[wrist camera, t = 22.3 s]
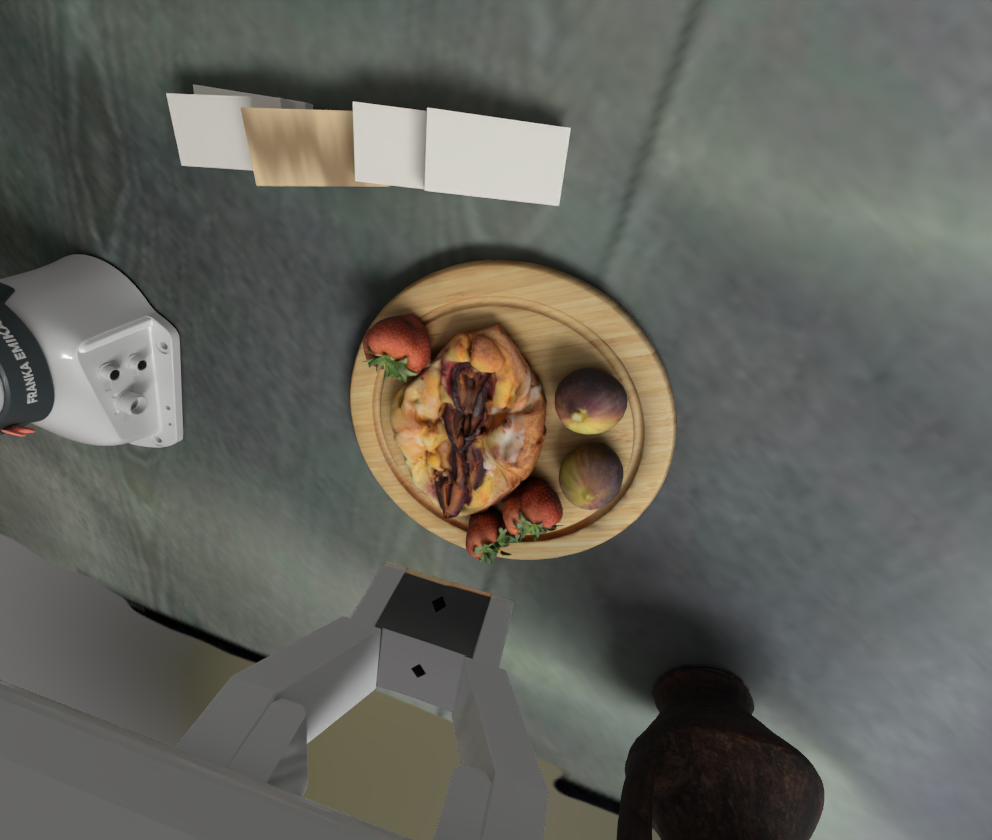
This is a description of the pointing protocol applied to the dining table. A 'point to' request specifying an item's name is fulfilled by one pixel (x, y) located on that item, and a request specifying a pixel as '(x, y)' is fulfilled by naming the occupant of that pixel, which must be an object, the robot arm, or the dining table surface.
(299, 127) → the domino
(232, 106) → the domino
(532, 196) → the domino
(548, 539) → the wooden plate with food
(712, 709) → the jug
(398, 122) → the domino
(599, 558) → the dining table surface
